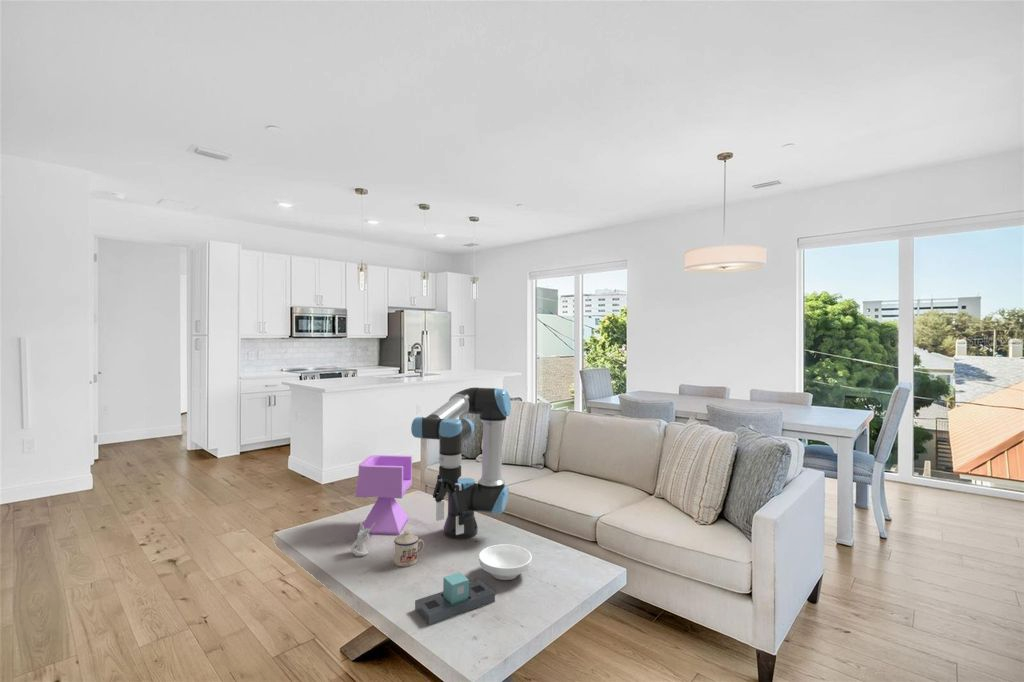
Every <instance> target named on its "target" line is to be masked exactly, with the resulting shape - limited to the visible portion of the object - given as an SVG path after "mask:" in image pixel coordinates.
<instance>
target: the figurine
mask: <svg viewBox="0 0 1024 682" xmlns="http://www.w3.org/2000/svg"><path fill="white" fill-rule="evenodd" d="M363 523H364V522H361V521H360V522H359V529H358V533H357V537H356V538H357V539H356V540H354V542H353V543H352V545H351V547H350V552H352V553H353V554H355V555H354V556H355V557H364V556H367V555H368V552H369V550H368V549H367V548H366V544H365V541H366V540H367V539H368V538H369V537H370V535H371V534H369V532H370V530H371V529H372V528H373V526H374V525H375V523H374V524H373V525H372V527H371V528H370V529H368V528H367V529H365V530H364V527H363Z"/></svg>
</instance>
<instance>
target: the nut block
mask: <svg viewBox="0 0 1024 682" xmlns="http://www.w3.org/2000/svg"><path fill="white" fill-rule="evenodd" d="M469 583H470V579H468V577H466V576H465V575H464V574H463V573H462V572H456V573H452V574H449V575H446V576H443V585H442V586H443V587H442V592H443V598H444V599H445V600H446V601H447V602H448V603H449V604H450V605H454V604H456V603H459V602H462V601H465V600H468V596H469Z"/></svg>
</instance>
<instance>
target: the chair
mask: <svg viewBox="0 0 1024 682" xmlns="http://www.w3.org/2000/svg"><path fill="white" fill-rule="evenodd" d="M412 478H413V456H412V455H394V454H393V455H388V454H387V455H386V454H377V455H376V454H374V455H369V456H367V458H365V459H364V460H363V461H361V463H359V465H358V474H357V483H356V489H355V498H372V497H374V498H377V500H375V503H374V505H372V508H371V510H370V511H369V513H368V514H367V517H366V518H365V520H364V521H363V522H362V523H363V527H364V530H365V529H367V528H368V529H370V528H371V527H372V525H373V524H374V523H375V525H374V526H373V528H372V529H371V530H370V532H369V534H370V535H378V536H379V535H386V536H391V535H392V536H399V535H401V532H403V528H404V527H405V525H406V523H408V520H409V516H408V515H407V513H406V511H404V509H403V508H402V507H401V505H400V504H399V503H398V501H397V500H396V499H403V497H404V496H405V494H406V492H407V491H408V489H410V488H411V486H412V484H413V479H412Z"/></svg>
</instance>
